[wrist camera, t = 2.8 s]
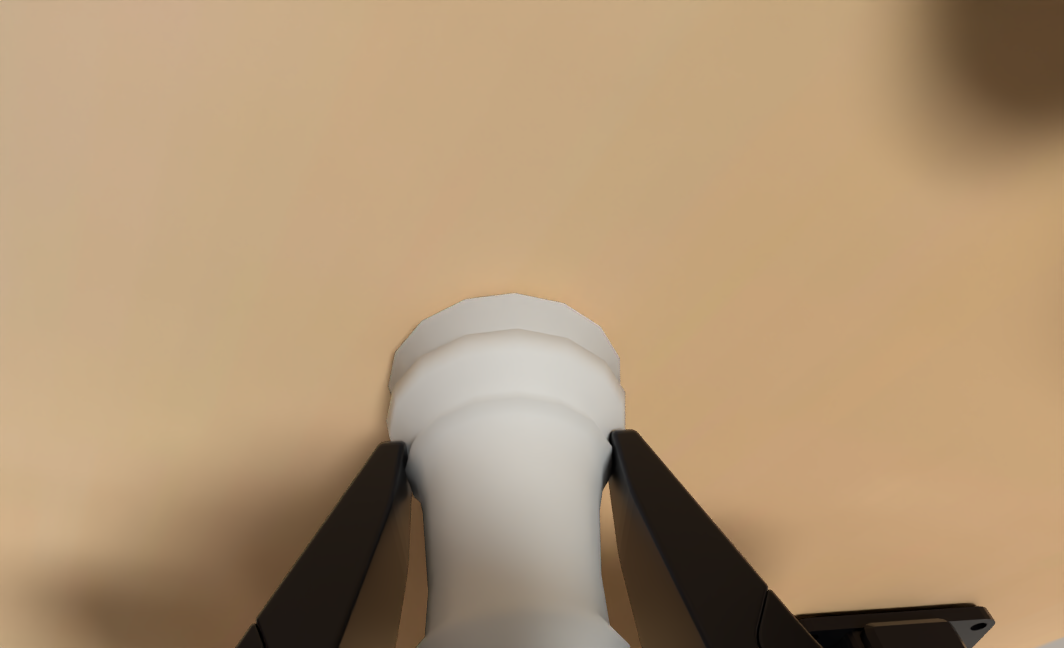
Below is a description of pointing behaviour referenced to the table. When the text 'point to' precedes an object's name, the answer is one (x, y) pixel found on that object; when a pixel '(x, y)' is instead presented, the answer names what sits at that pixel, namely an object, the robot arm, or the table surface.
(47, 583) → the table surface
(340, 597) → the robot arm
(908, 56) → the table surface
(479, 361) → the rook chess piece
